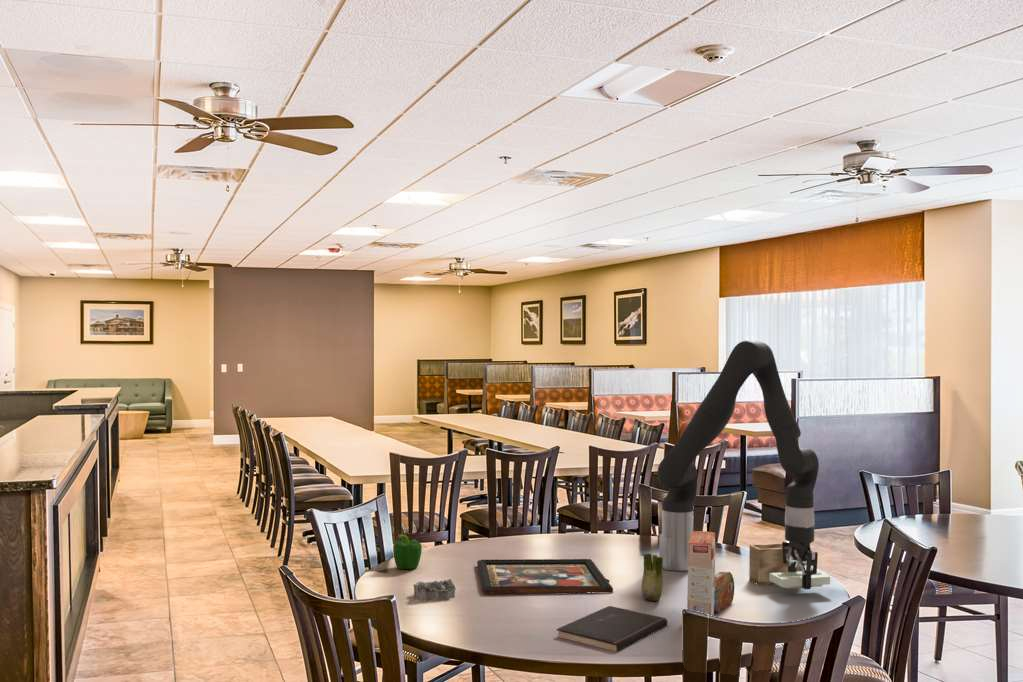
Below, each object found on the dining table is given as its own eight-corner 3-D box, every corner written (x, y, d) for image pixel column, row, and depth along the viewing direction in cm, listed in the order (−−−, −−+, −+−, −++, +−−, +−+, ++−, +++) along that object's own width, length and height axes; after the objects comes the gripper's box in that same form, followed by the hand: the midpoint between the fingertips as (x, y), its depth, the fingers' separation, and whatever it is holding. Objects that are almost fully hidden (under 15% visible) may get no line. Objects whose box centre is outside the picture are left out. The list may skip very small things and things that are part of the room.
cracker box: (712, 634, 202) (713, 543, 202) (686, 632, 204) (686, 541, 204) (715, 616, 215) (716, 531, 216) (690, 614, 217) (691, 529, 217)
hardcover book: (556, 639, 200) (556, 628, 200) (609, 614, 218) (609, 605, 218) (617, 654, 190) (617, 644, 190) (667, 628, 208) (667, 618, 208)
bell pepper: (424, 565, 264) (424, 531, 264) (418, 572, 256) (418, 537, 256) (396, 564, 265) (396, 530, 265) (390, 571, 257) (390, 536, 257)
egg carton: (415, 602, 227) (415, 586, 227) (412, 594, 234) (412, 579, 234) (456, 599, 229) (456, 584, 229) (452, 591, 236) (452, 576, 236)
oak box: (759, 585, 244) (759, 549, 244) (749, 580, 249) (749, 544, 249) (801, 583, 247) (802, 547, 247) (790, 577, 252) (791, 542, 252)
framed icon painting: (486, 601, 229) (486, 589, 229) (465, 568, 263) (465, 559, 263) (625, 595, 236) (625, 584, 236) (587, 564, 271) (587, 555, 271)
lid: (782, 590, 231) (782, 578, 231) (769, 583, 238) (769, 571, 238) (829, 587, 234) (830, 575, 234) (816, 580, 241) (816, 569, 241)
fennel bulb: (665, 602, 227) (665, 555, 227) (648, 603, 226) (648, 557, 226) (654, 596, 233) (655, 550, 233) (638, 597, 231) (638, 552, 231)
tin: (714, 616, 216) (714, 582, 216) (702, 614, 218) (702, 580, 218) (735, 601, 228) (735, 569, 228) (723, 599, 230) (724, 567, 230)
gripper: (773, 518, 242) (772, 579, 242) (801, 529, 228) (801, 593, 228) (797, 517, 244) (797, 577, 244) (827, 527, 230) (827, 591, 230)
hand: (799, 585), depth 236 cm, fingers closed on lid, 6 cm apart
